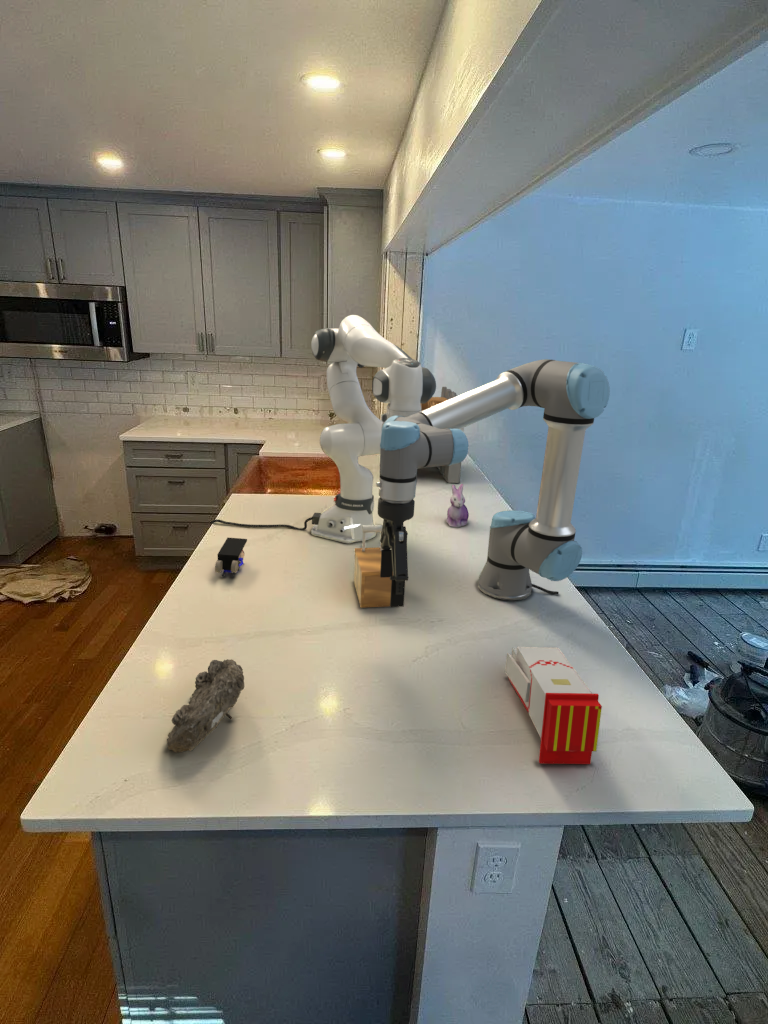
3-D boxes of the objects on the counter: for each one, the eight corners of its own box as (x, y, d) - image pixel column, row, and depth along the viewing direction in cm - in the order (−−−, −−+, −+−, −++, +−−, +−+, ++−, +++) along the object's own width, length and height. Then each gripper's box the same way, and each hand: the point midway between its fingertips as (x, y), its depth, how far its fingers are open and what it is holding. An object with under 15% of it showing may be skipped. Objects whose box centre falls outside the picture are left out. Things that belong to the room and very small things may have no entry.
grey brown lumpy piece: (192, 660, 117) (244, 628, 112) (224, 691, 120) (276, 661, 115) (142, 746, 98) (202, 712, 93) (182, 779, 101) (242, 748, 96)
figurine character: (238, 584, 162) (249, 557, 175) (236, 562, 158) (247, 536, 172) (215, 584, 161) (227, 556, 175) (212, 561, 158) (225, 535, 171)
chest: (353, 582, 163) (354, 553, 160) (386, 581, 165) (388, 552, 162) (360, 607, 150) (361, 576, 147) (396, 606, 151) (398, 575, 148)
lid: (354, 551, 161) (355, 522, 158) (387, 550, 163) (389, 522, 160) (361, 576, 147) (362, 544, 144) (398, 574, 148) (399, 543, 145)
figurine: (454, 529, 206) (457, 490, 201) (439, 520, 214) (442, 482, 209) (475, 526, 210) (479, 487, 205) (459, 517, 218) (463, 479, 213)
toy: (554, 629, 125) (611, 701, 96) (548, 684, 128) (602, 772, 98) (500, 628, 125) (540, 700, 95) (495, 684, 127) (533, 771, 98)
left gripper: (434, 426, 149) (431, 476, 153) (397, 413, 166) (395, 459, 170) (413, 427, 146) (410, 479, 150) (378, 414, 163) (376, 461, 167)
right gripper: (370, 480, 127) (366, 566, 134) (388, 519, 104) (383, 621, 111) (403, 480, 128) (397, 565, 135) (428, 519, 105) (420, 619, 112)
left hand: (402, 468), depth 160 cm, fingers open, 8 cm apart
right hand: (391, 590), depth 123 cm, fingers open, 13 cm apart
